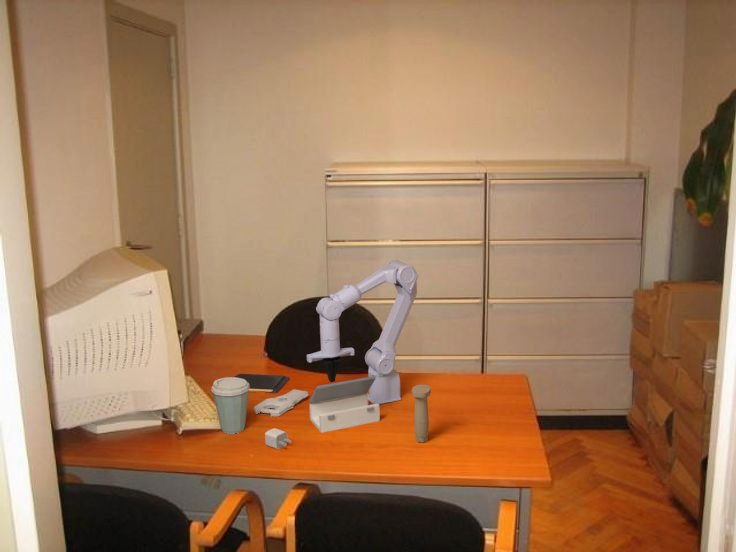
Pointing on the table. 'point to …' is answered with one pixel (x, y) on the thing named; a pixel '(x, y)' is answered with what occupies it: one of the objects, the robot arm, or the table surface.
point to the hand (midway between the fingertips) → (331, 380)
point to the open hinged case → (343, 413)
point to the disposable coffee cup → (231, 403)
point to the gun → (280, 403)
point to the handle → (421, 412)
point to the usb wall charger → (276, 438)
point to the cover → (341, 389)
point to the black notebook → (264, 382)
